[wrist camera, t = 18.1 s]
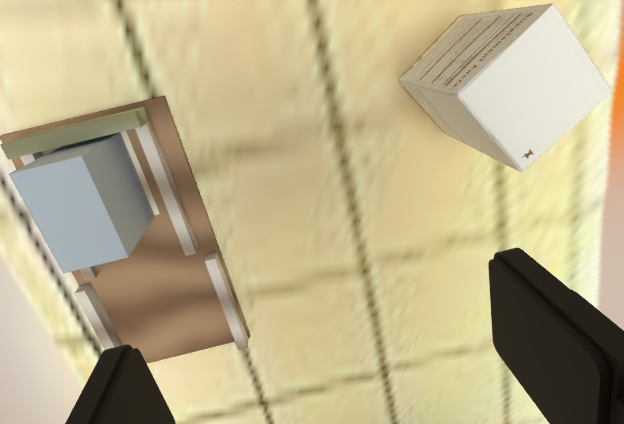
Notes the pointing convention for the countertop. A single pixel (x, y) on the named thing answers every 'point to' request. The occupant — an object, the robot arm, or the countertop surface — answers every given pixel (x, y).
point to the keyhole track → (150, 242)
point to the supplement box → (507, 82)
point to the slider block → (86, 201)
